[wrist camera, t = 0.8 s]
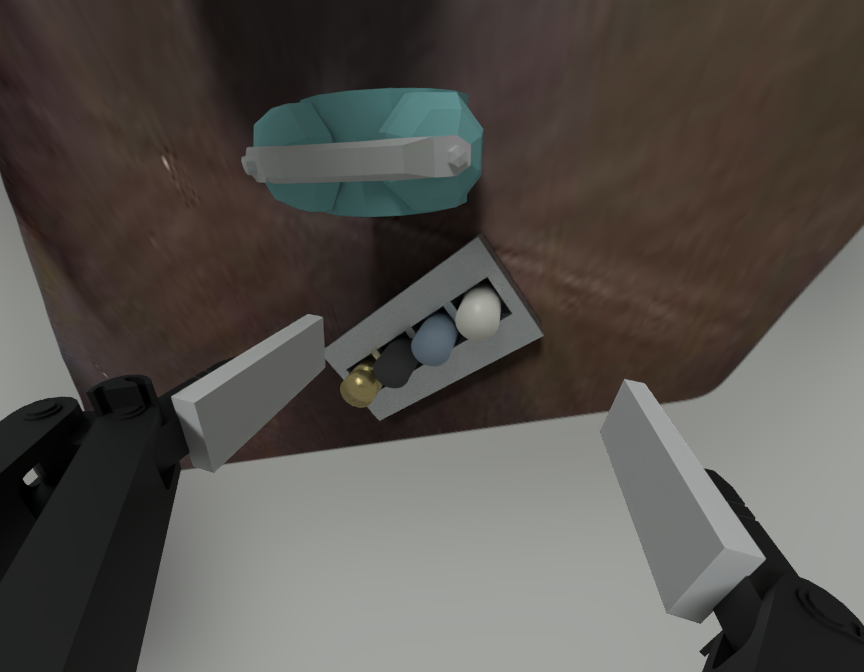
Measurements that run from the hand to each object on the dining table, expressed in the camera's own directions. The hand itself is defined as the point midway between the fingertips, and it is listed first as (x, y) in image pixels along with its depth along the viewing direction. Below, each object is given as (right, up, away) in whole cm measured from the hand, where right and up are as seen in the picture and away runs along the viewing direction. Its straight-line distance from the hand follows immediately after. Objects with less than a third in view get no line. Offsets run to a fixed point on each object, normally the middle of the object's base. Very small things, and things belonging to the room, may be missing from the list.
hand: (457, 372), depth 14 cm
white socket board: (-2, +2, +29) cm, 29 cm away
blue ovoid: (0, +3, +25) cm, 25 cm away
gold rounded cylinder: (-9, -3, +30) cm, 32 cm away
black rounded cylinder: (-5, 0, +28) cm, 28 cm away
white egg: (+5, +5, +23) cm, 24 cm away
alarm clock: (-3, +21, +21) cm, 30 cm away
